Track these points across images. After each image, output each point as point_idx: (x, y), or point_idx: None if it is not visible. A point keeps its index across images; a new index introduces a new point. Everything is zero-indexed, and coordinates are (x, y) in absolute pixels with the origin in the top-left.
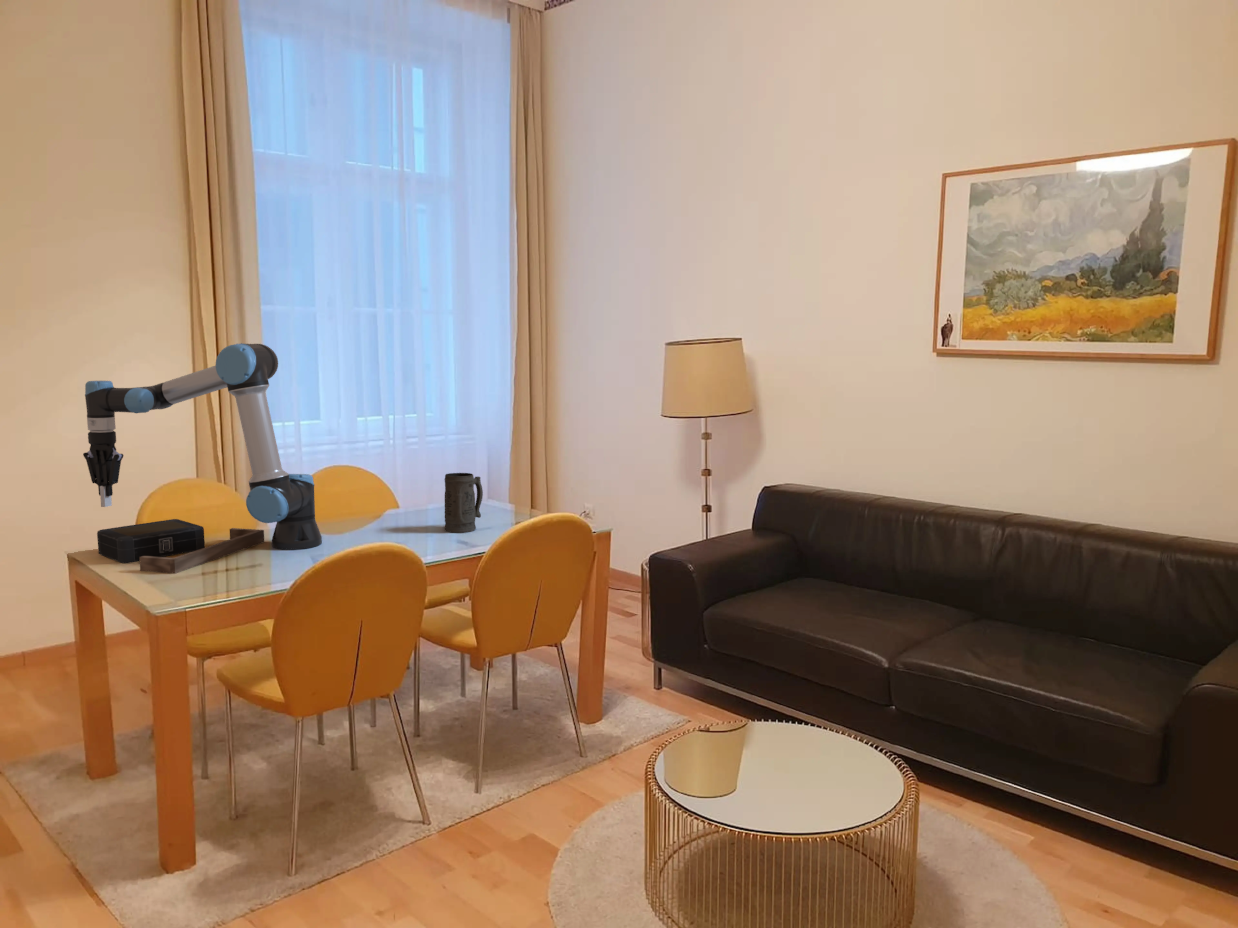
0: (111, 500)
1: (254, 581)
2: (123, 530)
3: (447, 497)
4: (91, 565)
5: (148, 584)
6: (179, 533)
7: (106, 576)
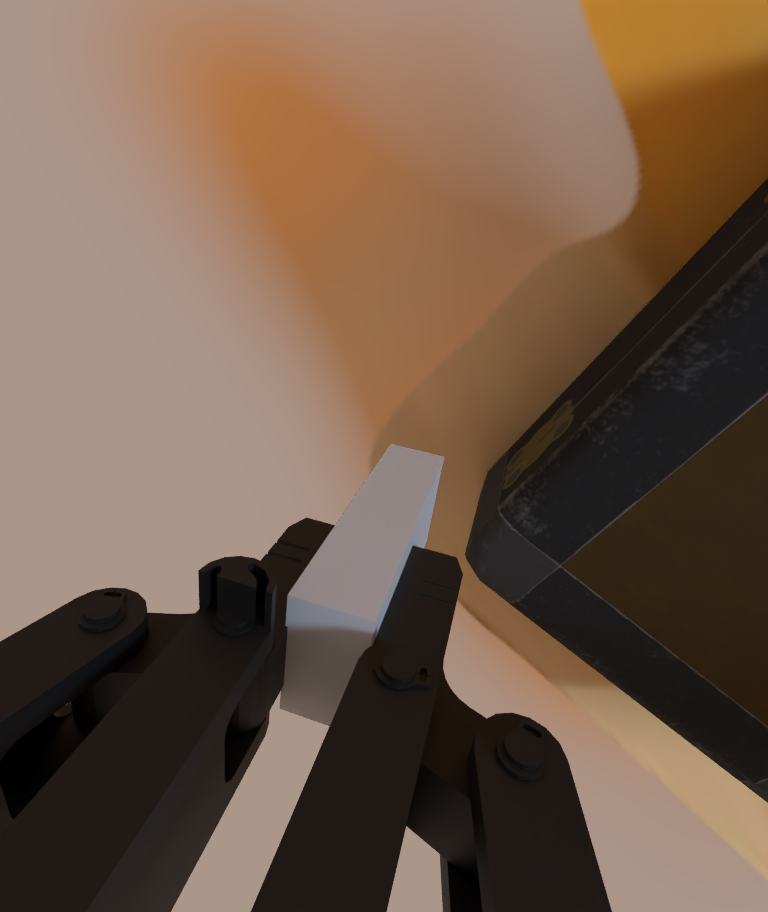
0: (432, 483)
1: None
2: (677, 589)
3: None
4: (585, 699)
5: None
6: None
7: (758, 864)
